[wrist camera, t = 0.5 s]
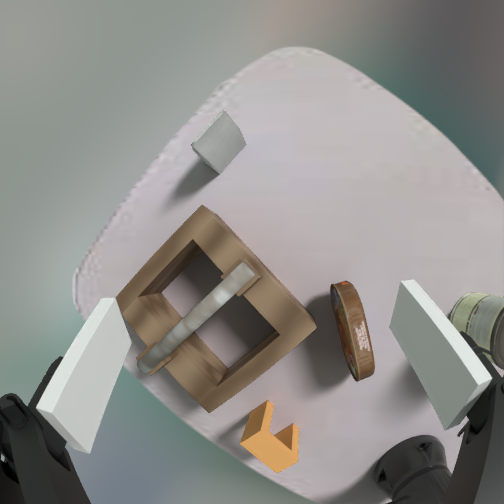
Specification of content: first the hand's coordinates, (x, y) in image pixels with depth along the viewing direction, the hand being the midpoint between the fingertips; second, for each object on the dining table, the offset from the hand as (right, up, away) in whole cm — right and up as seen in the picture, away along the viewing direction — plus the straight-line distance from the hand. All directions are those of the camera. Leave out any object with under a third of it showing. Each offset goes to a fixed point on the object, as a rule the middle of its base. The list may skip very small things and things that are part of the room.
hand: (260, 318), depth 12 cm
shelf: (-6, -6, +33) cm, 34 cm away
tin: (+15, -9, +30) cm, 34 cm away
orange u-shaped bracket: (+3, -26, +31) cm, 40 cm away
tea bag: (-5, +19, +34) cm, 40 cm away
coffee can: (+38, -9, +26) cm, 47 cm away
